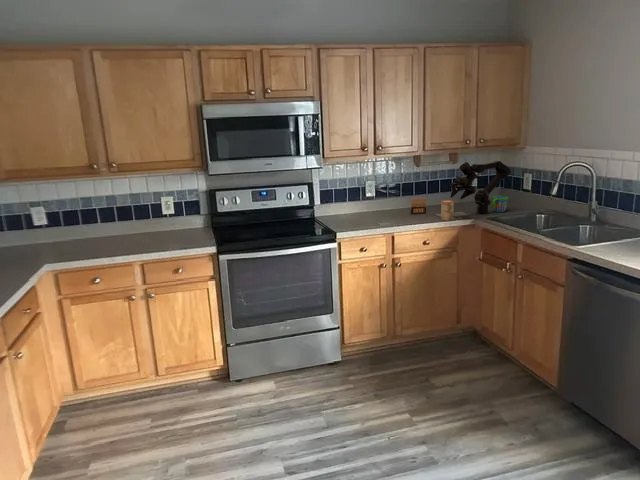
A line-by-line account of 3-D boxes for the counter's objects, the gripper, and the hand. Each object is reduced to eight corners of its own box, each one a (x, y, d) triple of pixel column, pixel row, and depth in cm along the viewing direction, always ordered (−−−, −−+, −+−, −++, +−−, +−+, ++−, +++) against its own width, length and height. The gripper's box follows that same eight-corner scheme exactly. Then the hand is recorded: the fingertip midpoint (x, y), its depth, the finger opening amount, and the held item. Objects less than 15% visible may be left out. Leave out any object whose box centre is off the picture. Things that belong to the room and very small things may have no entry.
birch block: (447, 218, 338) (447, 200, 335) (453, 219, 333) (453, 201, 331) (441, 219, 336) (441, 201, 333) (446, 220, 331) (447, 202, 328)
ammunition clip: (410, 214, 356) (410, 197, 353) (410, 213, 358) (410, 197, 355) (426, 213, 356) (426, 196, 353) (425, 213, 357) (425, 196, 354)
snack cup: (501, 208, 361) (502, 194, 359) (513, 210, 352) (514, 196, 350) (485, 211, 354) (486, 197, 351) (497, 213, 345) (498, 198, 342)
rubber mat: (461, 213, 353) (461, 211, 352) (469, 215, 342) (469, 214, 342) (434, 215, 349) (434, 214, 349) (441, 218, 338) (441, 217, 338)
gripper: (452, 170, 341) (439, 188, 339) (472, 172, 325) (459, 192, 323) (461, 181, 346) (448, 199, 344) (481, 184, 330) (468, 202, 328)
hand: (455, 198), depth 335 cm, fingers open, 9 cm apart
